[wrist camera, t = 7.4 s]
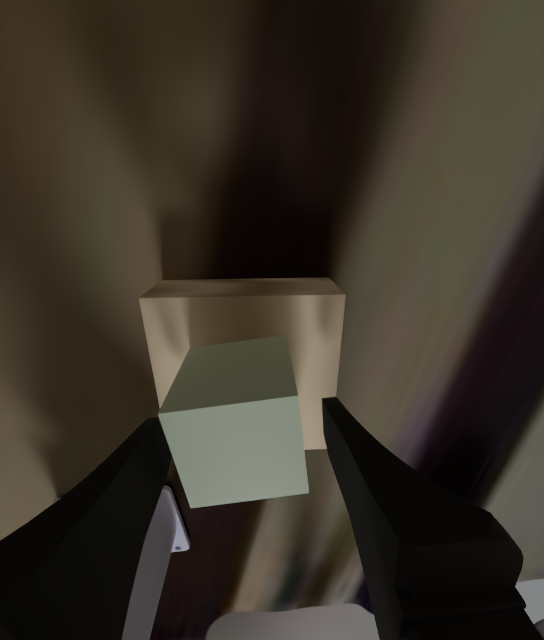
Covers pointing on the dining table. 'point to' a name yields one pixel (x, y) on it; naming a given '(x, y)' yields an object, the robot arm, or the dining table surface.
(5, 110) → the dining table surface
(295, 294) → the birch base
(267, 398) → the sage cube
